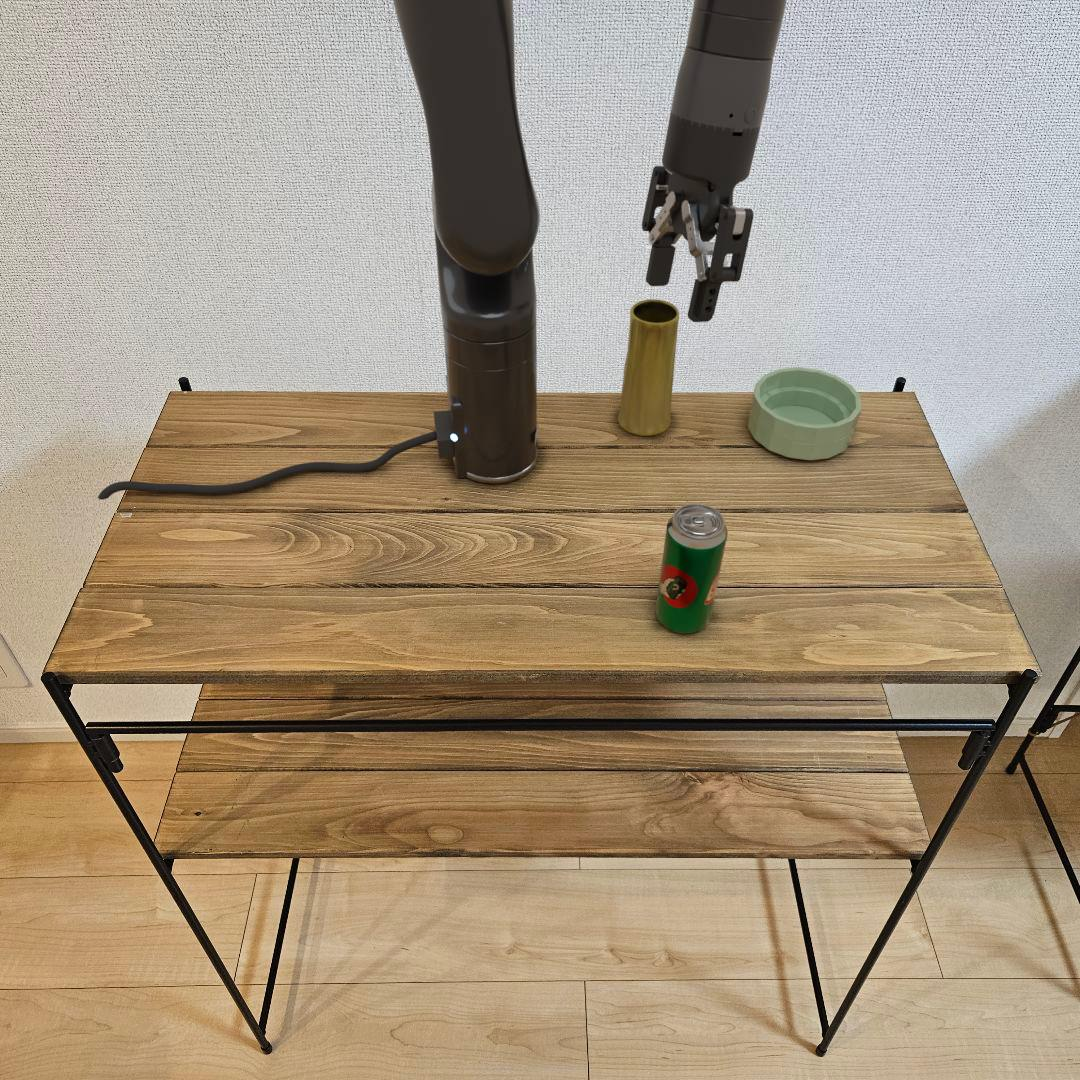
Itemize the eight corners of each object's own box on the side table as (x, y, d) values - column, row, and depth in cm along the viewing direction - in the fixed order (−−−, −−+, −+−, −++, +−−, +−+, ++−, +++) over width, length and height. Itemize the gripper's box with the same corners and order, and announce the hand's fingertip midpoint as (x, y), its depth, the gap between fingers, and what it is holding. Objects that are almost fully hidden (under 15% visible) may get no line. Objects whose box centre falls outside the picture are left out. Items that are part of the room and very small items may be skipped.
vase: (655, 401, 106) (667, 292, 97) (679, 430, 102) (694, 319, 92) (609, 412, 105) (616, 302, 95) (631, 441, 101) (641, 330, 91)
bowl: (767, 469, 97) (776, 432, 94) (733, 408, 106) (740, 372, 102) (867, 458, 99) (879, 421, 95) (826, 399, 107) (835, 363, 103)
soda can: (713, 637, 80) (733, 541, 72) (656, 636, 80) (670, 540, 72) (706, 596, 84) (725, 500, 75) (652, 595, 84) (665, 499, 75)
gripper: (638, 92, 77) (609, 275, 87) (720, 133, 67) (677, 335, 76) (713, 97, 80) (676, 273, 89) (803, 136, 69) (751, 331, 79)
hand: (677, 302), depth 83 cm, fingers open, 8 cm apart
